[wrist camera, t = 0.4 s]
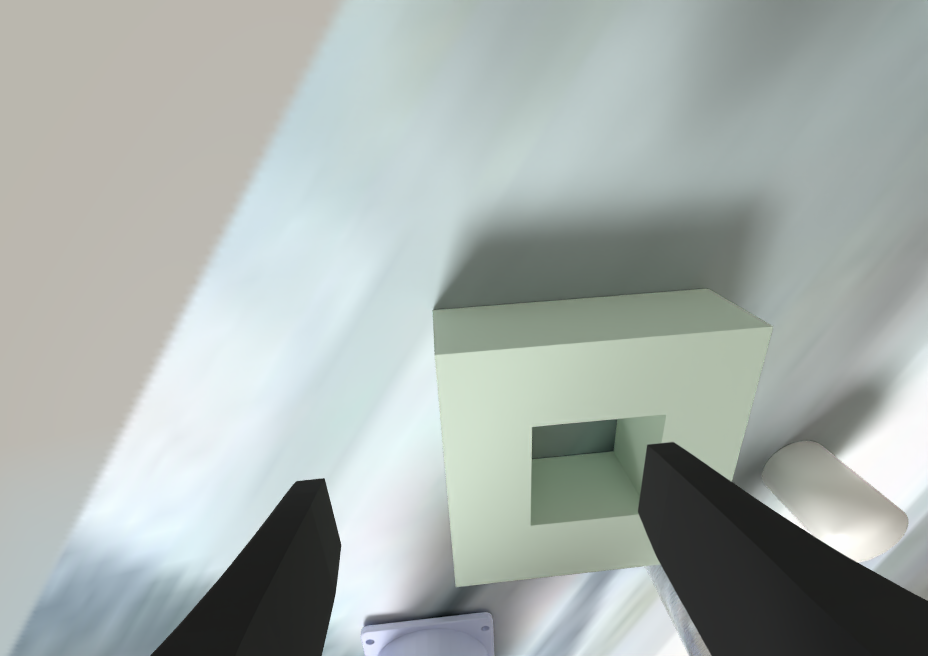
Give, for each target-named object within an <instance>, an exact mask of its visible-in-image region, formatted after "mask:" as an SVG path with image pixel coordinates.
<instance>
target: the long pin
mask: <svg viewBox="0 0 928 656" xmlns="http://www.w3.org/2000/svg"><path fill="white" fill-rule="evenodd" d="M645 568H646V570H647V572H648V574H649V576H650V578H651V580H652V582H653V584H654V586H655V588H656V590H657V592H658V594H659V596H660V598H661V600H662V602H663V604H664V606H665V608H666V610H667V612H668V614H669V616H670V619H671V621H672V623H673V625H674V627H675V629H676V631H677V633H678V635H679V637H680V639H681V641H682V643H683V645H684V647H685V649H686V651H687V653H688V655H689V656H711V654H710V652H709V650H708V649H707V647H706V645H705V643H704V641H703V640H702V638H701V636H700V634H699V633H698V631H697V629H696V627H695V625H694V624H693V622H692V620H691V618H690V617H689V615H688V613H687V611H686V609H685V608H684V606H683V604H682V602H681V600H680V599H679V597H678V595H677V593H676V592H675V590H674V588H673V586H672V584H671V582H670V581H669V579H668V577H667V575H666V573H665V572H664V570H663V568H662V566H661V564H660V565H651V566H645Z"/></svg>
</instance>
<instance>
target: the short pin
mask: <svg viewBox="0 0 928 656" xmlns="http://www.w3.org/2000/svg"><path fill="white" fill-rule="evenodd" d="M762 480H763V483H764V484H765V486H766V487H767V488H768V489H769V490H770V491H771V492H772V493H773V494H774V495H775V496H776V497H777V498H778V499H779V501H780V502H781V503H782V504H783V505H784V506H785V507H786V508H787V509H788V510H789V511H790V512H791V513H792V514H793V515H794V516H795V518H796V519H797V520H798V521H799V522H800V523H801V524H802V525H803V526H804V527H805V528H806V529H807V530H808V531H809V532H810V533H811V535H813V536H814V537H816V538H818V539H819V540H821V541H822V542H824V543H826V544H827V545H829V546H830V547H832V548H834V549H835V550H837V551H839V552H840V553H842V554H844V555H845V556H847V557H849V558H851V559H852V560H854V561H856V562H857V563H858V562H863V561H867V560H870V559H873V558H875V557H877V556H879V555H881V554H883V553H885V552H886V551H888V550H889V549H891V548H892V547H893V546H894V545H895V544H897V543H898V542H899V541H900V539H901V538H902V537H903V536H904V534H905V532H906V530H907V527H908V517H907V515H906V514H905V512H903V511H902V510H901V509H900V508H898V507H897V506H896V505H895V504H894V503H892V502H891V501H890V500H889V499H887V498H886V497H885V496H884V495H882V494H881V493H880V492H879V491H877V490H876V489H875V488H874V487H873V486H871V485H870V484H869V483H868V482H866V481H865V480H864V479H863V478H861V477H860V476H859V475H858V474H857V473H855V472H854V471H853V470H852V469H850V468H849V467H848V466H847V465H845V464H844V463H843V462H842V461H840V460H839V459H838V458H837V457H836V456H834V455H833V454H832V453H831V452H829V451H828V450H827V449H826V448H824V447H823V446H822V445H821V444H819V443H817V442H813V441H800V442H795V443H792V444H790V445H787V446H785V447H783V448H782V449H780V450H779V451H777V452H776V453H775V454H774V455H773V456H772V457H771V458H770V459H769V460H768V461H767V463H766V464H765V466H764V469H763V472H762Z"/></svg>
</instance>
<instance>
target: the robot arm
mask: <svg viewBox="0 0 928 656" xmlns="http://www.w3.org/2000/svg"><path fill="white" fill-rule="evenodd" d="M638 513H639V516H640V518H641V521H642V523H643V526H644V528H645V531H646V534H647V536H648V538H649V541H650V543H651V545H652V548H653V550H654V552H655V555H656V557H657V559H658V561H659V562H660V564H661V566H662V568H663V570H664V572H665V573H666V575H667V577H668V579H669V581H670V582H671V584H672V586H673V588H674V590H675V592H676V593H677V595H678V597H679V599H680V600H681V602H682V604H683V606H684V608H685V609H686V611H687V613H688V615H689V617H690V618H691V620H692V622H693V624H694V625H695V627H696V629H697V631H698V633H699V634H700V636H701V638H702V640H703V641H704V643H705V645H706V647H707V649H708V650H709V652H710V654H711V656H928V601H927V600H925V599H923V598H921V597H919V596H917V595H915V594H913V593H911V592H910V591H908V590H906V589H904V588H902V587H901V586H899V585H897V584H895V583H893V582H892V581H890V580H888V579H886V578H884V577H882V576H881V575H879V574H877V573H875V572H873V571H872V570H870V569H868V568H866V567H864V566H863V565H861V564H859V563H857V562H856V561H854V560H852V559H851V558H849V557H847V556H845V555H844V554H842V553H840V552H839V551H837V550H835V549H834V548H832V547H830V546H829V545H827V544H826V543H824V542H822V541H821V540H819V539H818V538H816V537H814V536H813V535H811V534H809V533H808V532H806V531H805V530H803V529H801V528H800V527H798V526H797V525H795V524H793V523H792V522H790V521H789V520H787V519H786V518H784V517H783V516H781V515H780V514H778V513H777V512H775V511H774V510H772V509H771V508H769V507H768V506H766V505H765V504H763V503H762V502H760V501H759V500H757V499H756V498H754V497H753V496H751V495H750V494H748V493H747V492H745V491H744V490H743V489H741V488H740V487H738V486H737V485H735V484H734V483H732V482H731V481H730V480H728V479H727V478H725V477H724V476H722V475H721V474H720V473H718V472H717V471H715V470H714V469H712V468H711V467H710V466H708V465H707V464H705V463H704V462H702V461H701V460H700V459H698V458H697V457H695V456H694V455H692V454H691V453H689V452H688V451H687V450H685V449H684V448H682V447H681V446H679V445H678V444H676V443H674V442H668V443H658V444H649V445H647V449H646V456H645V464H644V471H643V478H642V485H641V492H640V499H639V506H638ZM340 551H341V542H340V538H339V534H338V530H337V526H336V522H335V518H334V514H333V510H332V506H331V502H330V498H329V494H328V490H327V486H326V482H325V478H323V479H313V480H304V481H296V482H295V483H294V484H293V486H292V487H291V488H290V489H289V491H288V492H287V493H286V494H285V496H284V497H283V498H282V500H281V501H280V502H279V504H278V505H277V506H276V508H275V509H274V510H273V512H272V513H271V514H270V516H269V517H268V518H267V519H266V521H265V522H264V523H263V525H262V526H261V527H260V529H259V530H258V531H257V532H256V534H255V535H254V536H253V538H252V539H251V540H250V541H249V543H248V544H247V545H246V546H245V548H244V549H243V550H242V551H241V553H240V554H239V555H238V556H237V558H236V559H235V560H234V561H233V562H232V564H231V565H230V566H229V567H228V569H227V570H226V571H225V572H224V574H223V575H222V576H221V577H220V578H219V580H218V581H217V582H216V583H215V584H214V585H213V587H212V588H211V589H210V590H209V591H208V592H207V593H206V595H205V596H204V597H203V598H202V599H201V600H200V601H199V603H198V604H197V605H196V606H195V607H194V608H193V610H192V611H191V612H190V613H189V614H188V615H187V616H186V618H185V619H184V620H183V621H182V622H181V623H180V624H179V625H178V626H177V628H176V629H175V630H174V631H173V632H172V633H171V634H170V635H169V636H168V637H167V638H166V639H165V641H164V642H163V643H162V644H161V645H160V646H159V647H158V648H157V649H156V650H155V651H154V652H153V653H152V654H151V655H150V656H322V652H323V647H324V643H325V639H326V634H327V630H328V625H329V621H330V617H331V612H332V608H333V603H334V598H335V594H336V586H337V578H338V570H339V560H340ZM361 641H362V645H363V649H364V653H365V656H494V632H493V617H492V615H491V614H490V613H488V612H482V613H473V614H464V615H456V616H447V617H438V618H429V619H421V620H412V621H403V622H395V623H386V624H377V625H369V626H365V627H364V628H362V630H361Z"/></svg>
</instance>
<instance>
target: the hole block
mask: <svg viewBox="0 0 928 656" xmlns="http://www.w3.org/2000/svg"><path fill="white" fill-rule="evenodd" d="M433 329H434V351H435V364H436V375H437V386H438V397H439V408H440V419H441V431H442V442H443V453H444V464H445V475H446V486H447V497H448V508H449V519H450V530H451V541H452V552H453V563H454V574H455V585H456V587H462V586H471V585H480V584H489V583H498V582H507V581H516V580H525V579H534V578H543V577H552V576H561V575H570V574H579V573H588V572H597V571H606V570H615V569H624V568H633V567H642V566H651V565H660V562H659V561H658V559H657V557H656V555H655V552H654V550H653V548H652V545H651V543H650V541H649V538H648V536H647V534H646V531H645V528H644V526H643V523H642V521H641V518H640V516H639V513H638V506H639V499H640V492H641V485H642V478H643V471H644V464H645V456H646V449H647V445H649V444H658V443H668V442H674V443H676V444H678V445H679V446H681V447H682V448H684V449H685V450H687V451H688V452H689V453H691V454H692V455H694V456H695V457H697V458H698V459H700V460H701V461H702V462H704V463H705V464H707V465H708V466H710V467H711V468H712V469H714V470H715V471H717V472H718V473H720V474H721V475H722V476H724V477H725V478H727V479H728V480H730V481H731V482H732V479H733V475H734V471H735V468H736V464H737V460H738V456H739V453H740V449H741V445H742V442H743V438H744V434H745V430H746V427H747V423H748V419H749V416H750V412H751V408H752V404H753V401H754V397H755V393H756V390H757V386H758V382H759V378H760V375H761V371H762V367H763V364H764V360H765V356H766V352H767V349H768V345H769V341H770V337H771V334H772V330H773V326H772V325H770V324H768V323H766V322H765V321H763V320H761V319H760V318H758V317H756V316H754V315H753V314H751V313H749V312H748V311H746V310H744V309H742V308H741V307H739V306H737V305H735V304H734V303H732V302H730V301H729V300H727V299H725V298H723V297H722V296H720V295H718V294H717V293H715V292H713V291H711V290H710V289H708V288H707V289H695V290H682V291H669V292H657V293H644V294H631V295H619V296H606V297H593V298H581V299H568V300H555V301H542V302H530V303H517V304H504V305H492V306H479V307H466V308H454V309H441V310H433ZM612 419H617V426H616V435H615V444H614V451H612V452H602V453H591V454H581V455H571V456H560V457H550V458H540V459H532V427H537V426H548V425H558V424H569V423H580V422H590V421H601V420H612Z"/></svg>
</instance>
